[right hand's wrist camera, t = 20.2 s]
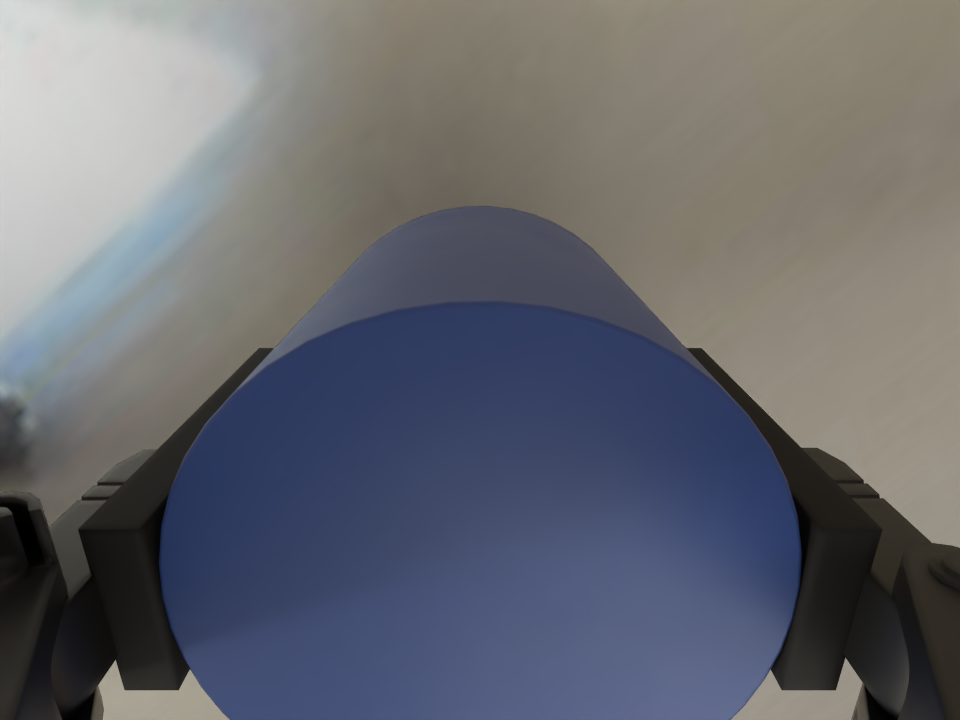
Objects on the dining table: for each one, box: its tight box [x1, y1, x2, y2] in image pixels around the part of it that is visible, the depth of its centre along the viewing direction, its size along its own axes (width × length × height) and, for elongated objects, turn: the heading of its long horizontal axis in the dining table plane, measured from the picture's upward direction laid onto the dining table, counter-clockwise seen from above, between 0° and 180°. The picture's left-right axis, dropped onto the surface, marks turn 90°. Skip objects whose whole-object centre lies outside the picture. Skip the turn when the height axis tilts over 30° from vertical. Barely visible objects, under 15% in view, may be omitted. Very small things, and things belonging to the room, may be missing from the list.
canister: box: [159, 206, 802, 720], centre depth 12 cm, size 8×8×8 cm
